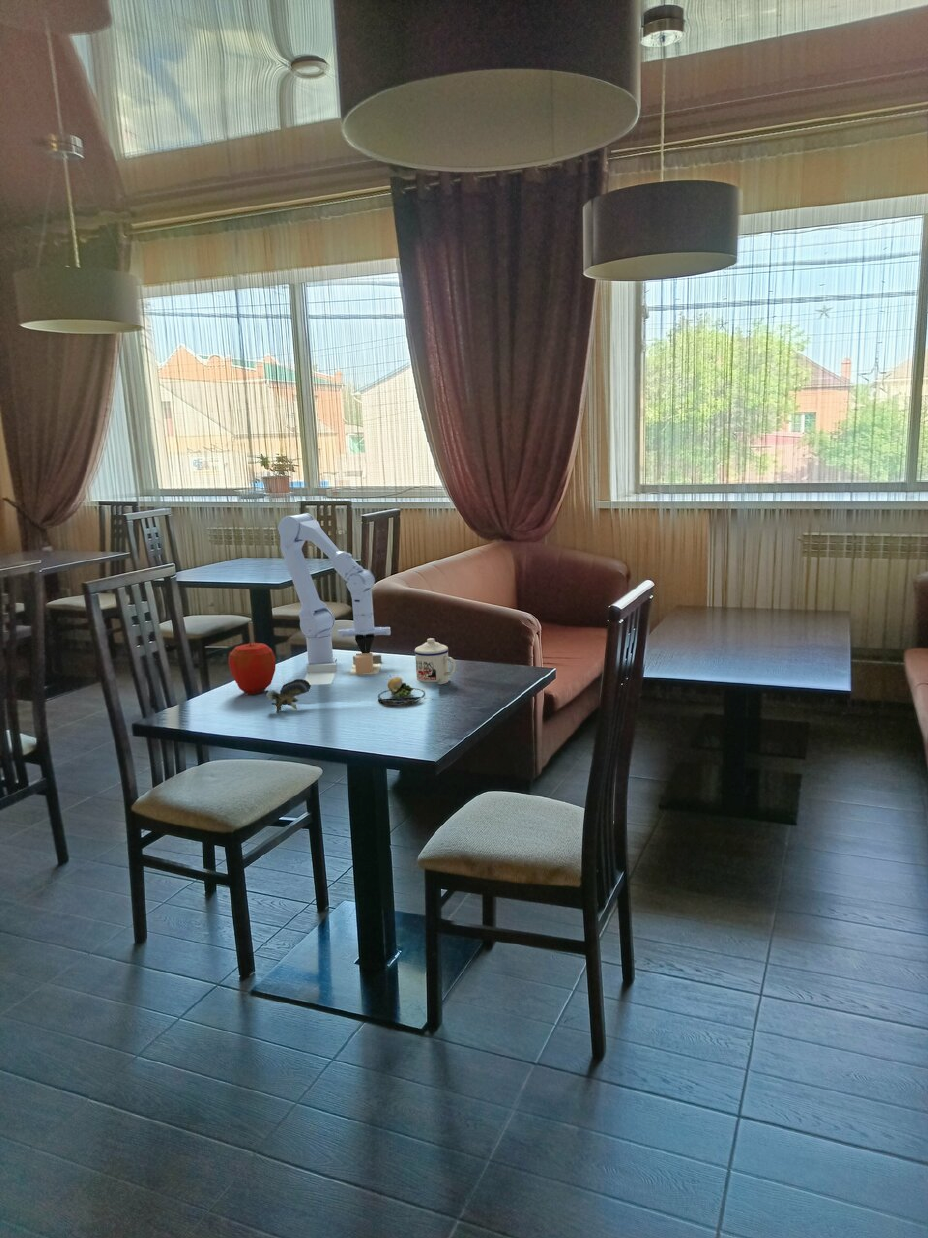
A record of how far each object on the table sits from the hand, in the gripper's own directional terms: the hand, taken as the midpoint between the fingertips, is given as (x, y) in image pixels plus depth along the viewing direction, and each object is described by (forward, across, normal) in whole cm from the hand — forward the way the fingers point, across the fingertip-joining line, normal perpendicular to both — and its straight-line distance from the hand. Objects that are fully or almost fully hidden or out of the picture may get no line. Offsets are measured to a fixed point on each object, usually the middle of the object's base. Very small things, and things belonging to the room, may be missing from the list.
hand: (366, 660), depth 248 cm
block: (+1, 0, -8) cm, 8 cm away
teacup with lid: (+2, +20, -19) cm, 28 cm away
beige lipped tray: (+2, 0, -4) cm, 5 cm away
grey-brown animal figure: (+2, -16, -35) cm, 39 cm away
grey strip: (+2, -12, -12) cm, 17 cm away
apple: (+2, -28, -19) cm, 34 cm away
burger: (+3, +11, -33) cm, 35 cm away
